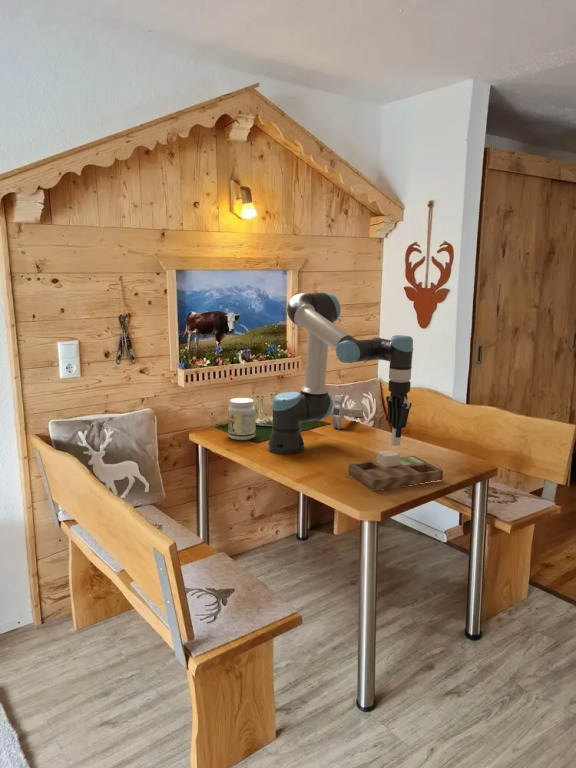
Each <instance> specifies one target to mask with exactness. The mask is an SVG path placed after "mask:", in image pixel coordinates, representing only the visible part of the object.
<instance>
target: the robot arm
mask: <svg viewBox="0 0 576 768" xmlns="http://www.w3.org/2000/svg"><path fill="white" fill-rule="evenodd" d="M286 307H287V308H286V313H287V316H288V318H289V320H290V321H291V322H292V323H293V324H294V325H295V326H298V327H299V328H304V329H305V330H306V331H307V346H306V362H305V376H304V385H303V386H302V387H301V388H300V393H299V392H297V391H289V392H288V391H287V392H281V393H278V394H276V395H275V396H273V399H272V406H271V407H272V431H271V435H270V437H269V440H268V444H267V445H268V447H267V449H268V451H269V452H272V453H274V454H279V455H292V454H293V455H294V454H299V453H302V452H303V451H305V442H304V438H303V435H302V433H301V424H303V423H308V422H315V421H320V420H323V419H327V418H328V417H329V416H330V415H331V413H332V412H333V408H334V406H333V405H334V400H333V399H332V395H331V394H330V393H329V389H327V387H326V379H327V378H326V376H327V366H328V365H327V364H328V351H329V347H330V348H331V349H333V350H334V351H335V355H336V357H337V359H338V361H339V362H341V363H344V364H346V363H347V364H354V363H358V362H359V363H360V362H370V361H378V360H379V361H386V362H389V370H388V372H389V373H388V378H389V379H388V387H387V388H388V391H389V392H390V394H389V395H387V396H385V400H386V405H387V419H388V424H390V426H391V428H392V429H391V446H393V447H398V446H399V447H400V446H401V438H402V430H403V429H405V428H406V427H407V423H408V419H409V413H410V409H411V407H412V406H413V405H412V403H411V402H409V401H408V399H409V397H408V393H410V391H411V384H412V383H411V378H412V367H413V366H412V365H413V352H414V339H413V337H411V336H409V335H402V334H399V335H398V334H397V335H393V336H391V338H390V339H387V338H382V337H374V336H373V337H370V338H367V339H356V338H354V337H353V336H352V335H350V334H349V333H347V332H346V330H345V331H344V330H343V329H342V328H341V327H339V326H337V325H336V324H335V323H334V322H336V321H337V320H338V319H339V318H340V317H341V305H340V302H339V299H338V298H337V297H336V296H335V295H334V294H332V293H330V292H301V293H297V294H296V295H295V294H294V296H292V298H290V299H289V301H288V304H287V306H286Z"/></svg>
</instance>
